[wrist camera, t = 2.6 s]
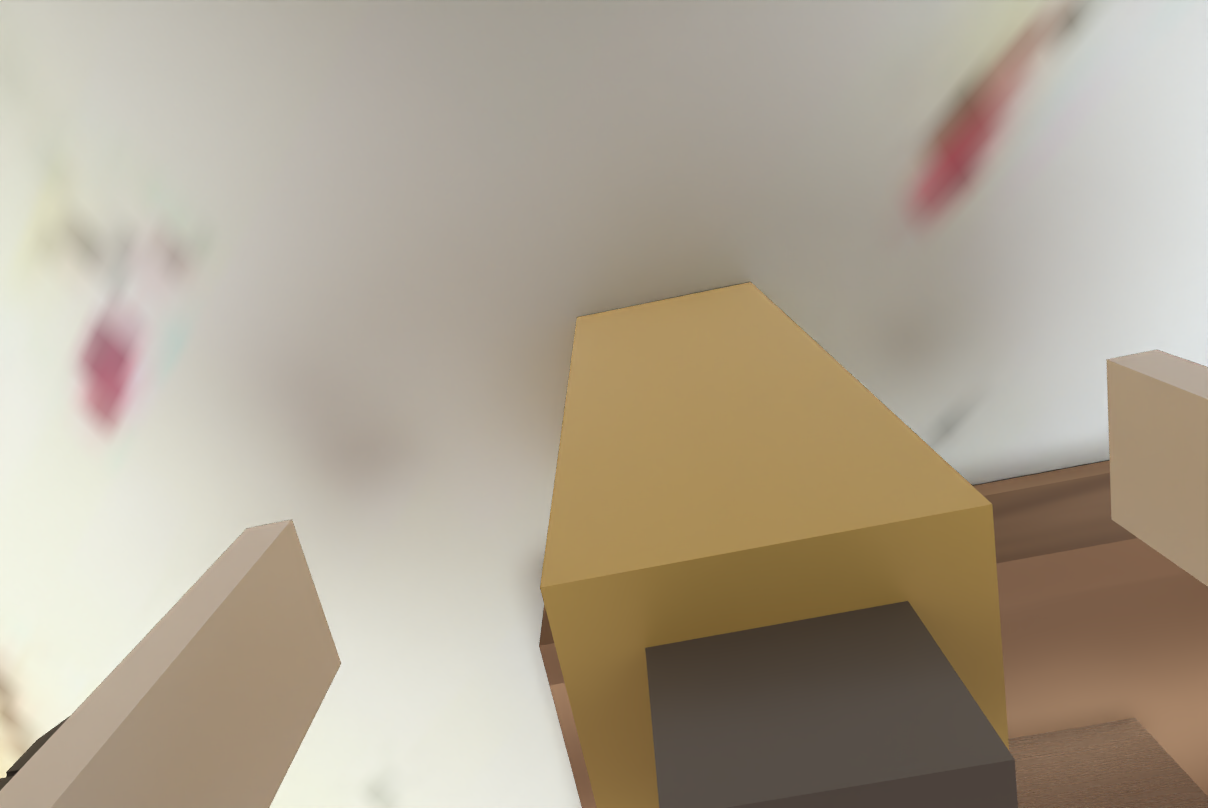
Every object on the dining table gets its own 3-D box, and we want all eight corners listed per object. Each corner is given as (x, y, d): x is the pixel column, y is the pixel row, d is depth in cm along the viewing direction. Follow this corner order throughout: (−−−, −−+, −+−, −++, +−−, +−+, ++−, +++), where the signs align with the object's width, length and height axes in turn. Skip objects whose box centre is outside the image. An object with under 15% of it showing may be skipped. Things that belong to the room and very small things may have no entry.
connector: (576, 317, 19) (519, 742, 5) (750, 281, 19) (1136, 636, 5) (611, 476, 20) (635, 1148, 7) (775, 445, 20) (1141, 1075, 6)
